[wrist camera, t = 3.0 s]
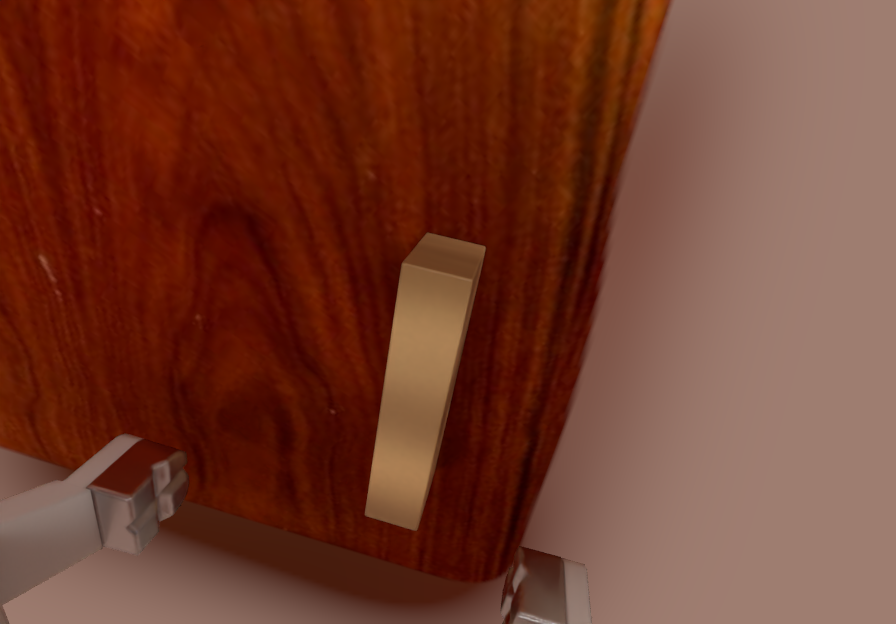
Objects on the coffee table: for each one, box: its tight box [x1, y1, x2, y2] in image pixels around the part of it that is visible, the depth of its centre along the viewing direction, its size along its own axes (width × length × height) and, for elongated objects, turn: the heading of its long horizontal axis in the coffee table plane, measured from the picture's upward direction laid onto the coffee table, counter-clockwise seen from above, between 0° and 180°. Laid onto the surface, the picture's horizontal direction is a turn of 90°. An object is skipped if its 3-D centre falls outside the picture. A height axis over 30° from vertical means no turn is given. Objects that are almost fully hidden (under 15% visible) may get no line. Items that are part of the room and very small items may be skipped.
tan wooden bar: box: [365, 233, 486, 531], centre depth 17 cm, size 10×2×3 cm, turn 170°
